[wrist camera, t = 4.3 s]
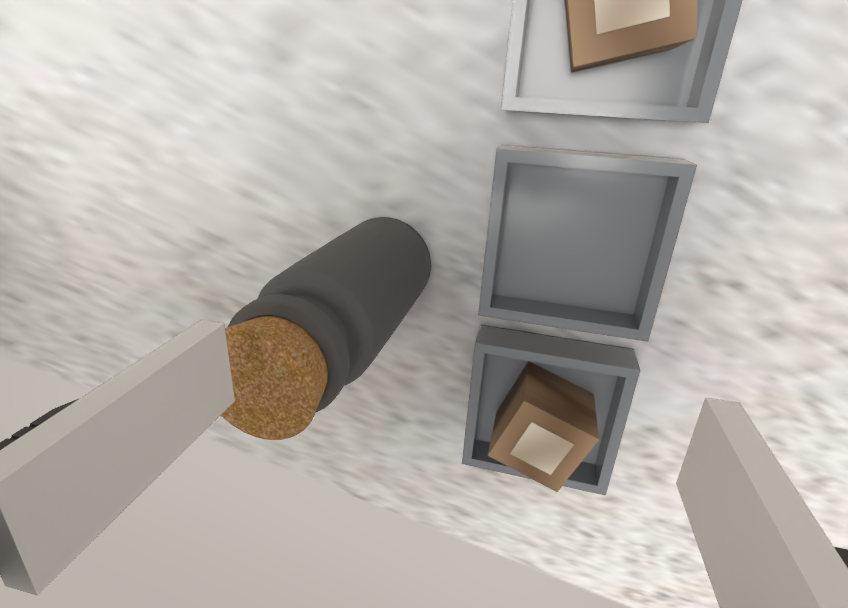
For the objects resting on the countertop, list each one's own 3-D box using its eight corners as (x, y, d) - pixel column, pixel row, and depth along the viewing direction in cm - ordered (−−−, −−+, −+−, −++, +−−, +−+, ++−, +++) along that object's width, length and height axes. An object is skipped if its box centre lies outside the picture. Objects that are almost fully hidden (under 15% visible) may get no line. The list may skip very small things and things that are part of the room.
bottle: (442, 295, 30) (352, 448, 17) (360, 310, 32) (222, 457, 19) (417, 206, 29) (294, 298, 15) (332, 227, 30) (157, 326, 17)
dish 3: (468, 440, 34) (461, 463, 32) (481, 325, 30) (475, 342, 28) (602, 468, 32) (605, 495, 30) (633, 349, 29) (639, 370, 26)
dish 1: (505, 109, 25) (501, 109, 23) (531, -110, 22) (527, -135, 19) (694, 121, 23) (708, 123, 21) (757, -118, 20) (782, -146, 17)
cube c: (496, 411, 32) (487, 456, 28) (528, 360, 30) (524, 401, 26) (557, 442, 32) (557, 493, 28) (593, 394, 30) (599, 440, 26)
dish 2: (484, 299, 30) (478, 315, 27) (502, 144, 26) (496, 148, 24) (640, 322, 28) (648, 341, 26) (683, 158, 24) (696, 164, 22)
